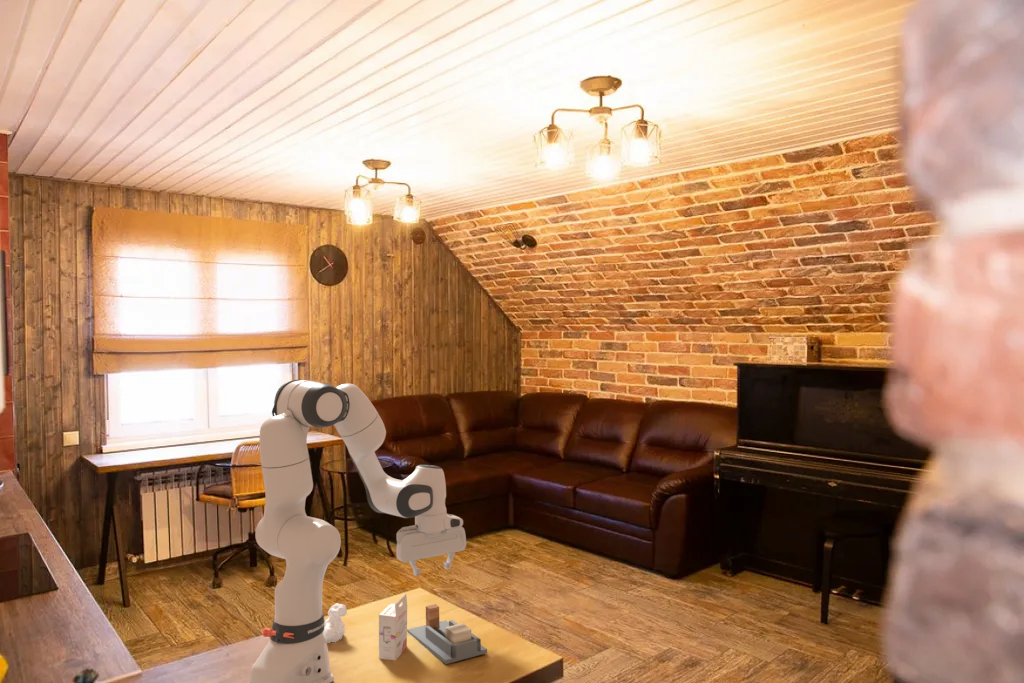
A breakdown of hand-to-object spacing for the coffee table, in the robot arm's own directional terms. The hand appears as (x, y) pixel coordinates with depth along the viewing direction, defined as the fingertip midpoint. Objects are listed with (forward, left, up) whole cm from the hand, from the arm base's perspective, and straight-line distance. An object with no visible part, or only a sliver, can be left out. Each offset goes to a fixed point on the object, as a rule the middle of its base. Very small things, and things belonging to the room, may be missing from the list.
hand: (432, 571), depth 207 cm
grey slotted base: (-5, -6, -17) cm, 19 cm away
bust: (-14, +24, -17) cm, 33 cm away
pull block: (-5, -7, -16) cm, 18 cm away
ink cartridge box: (-16, +4, -17) cm, 24 cm away
